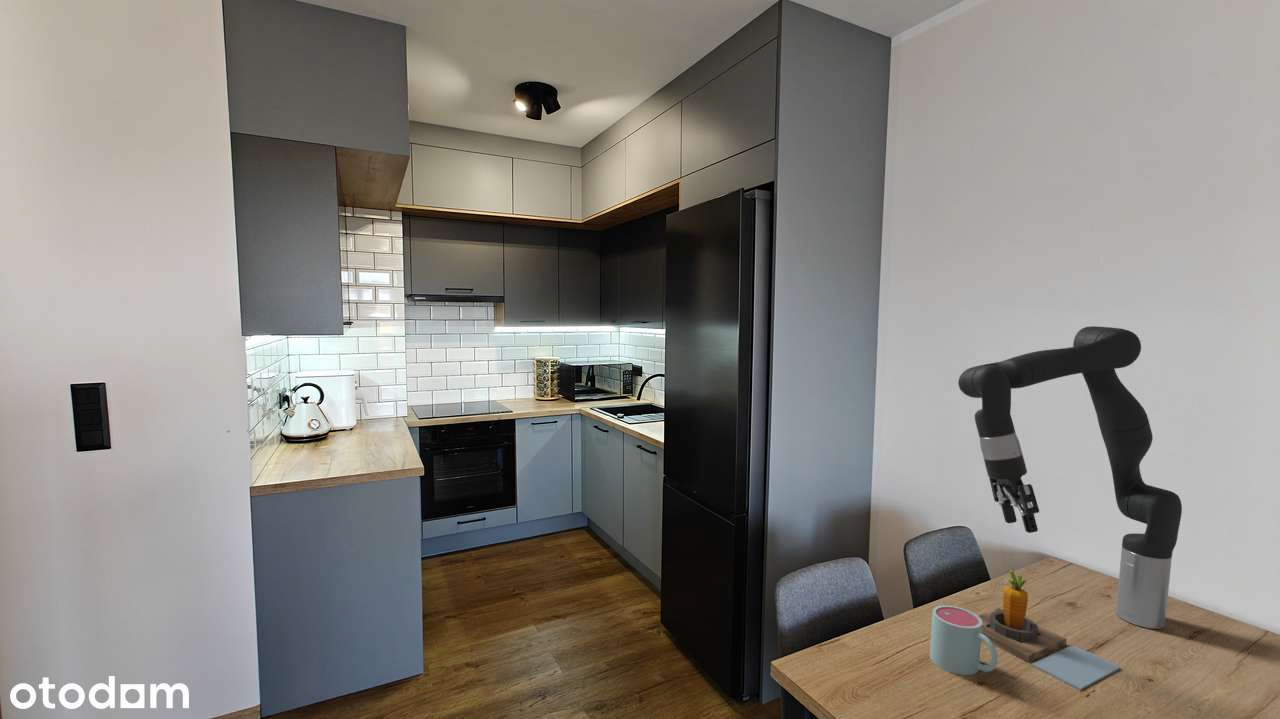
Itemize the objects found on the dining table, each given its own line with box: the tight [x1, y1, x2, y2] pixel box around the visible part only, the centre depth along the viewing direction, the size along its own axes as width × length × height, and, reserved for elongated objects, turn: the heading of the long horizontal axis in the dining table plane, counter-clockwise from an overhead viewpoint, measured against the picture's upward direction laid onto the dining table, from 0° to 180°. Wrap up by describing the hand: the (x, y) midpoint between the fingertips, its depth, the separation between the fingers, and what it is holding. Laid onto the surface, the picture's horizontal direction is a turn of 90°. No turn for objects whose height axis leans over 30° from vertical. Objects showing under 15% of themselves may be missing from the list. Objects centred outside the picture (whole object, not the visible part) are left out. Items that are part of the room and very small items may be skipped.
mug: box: [929, 605, 999, 676], centre depth 121 cm, size 14×9×10 cm
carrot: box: [1002, 570, 1029, 630], centre depth 134 cm, size 5×5×15 cm
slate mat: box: [1031, 644, 1121, 691], centre depth 123 cm, size 16×9×1 cm, turn 118°
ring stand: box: [978, 608, 1067, 663], centre depth 134 cm, size 15×15×4 cm
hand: (1021, 527), depth 128 cm, fingers open, 8 cm apart
